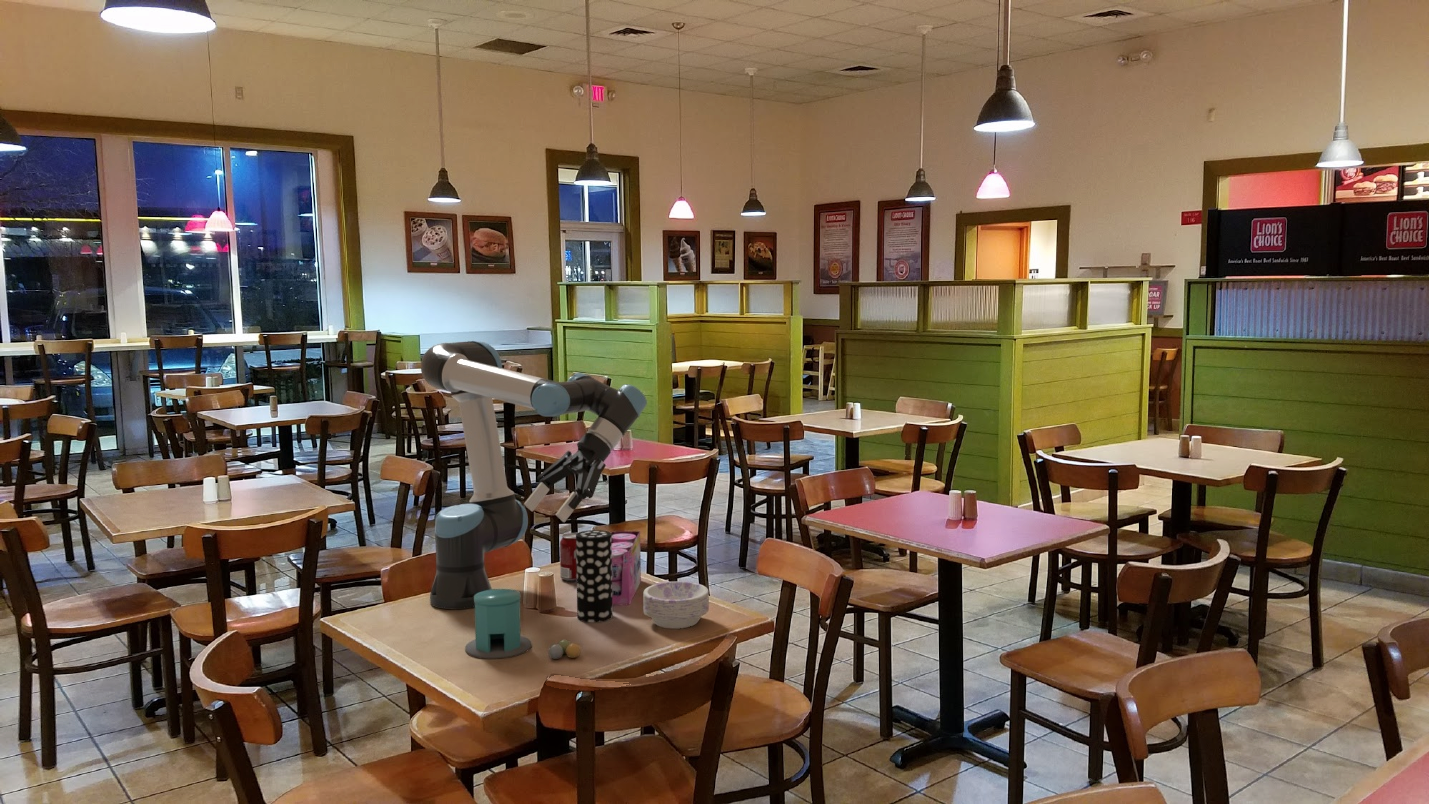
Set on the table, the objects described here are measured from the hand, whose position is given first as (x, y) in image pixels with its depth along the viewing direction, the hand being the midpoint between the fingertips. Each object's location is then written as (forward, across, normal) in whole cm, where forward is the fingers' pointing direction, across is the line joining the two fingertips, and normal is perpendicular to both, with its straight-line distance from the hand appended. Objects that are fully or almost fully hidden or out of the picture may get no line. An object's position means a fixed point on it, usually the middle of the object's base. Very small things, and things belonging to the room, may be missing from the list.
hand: (543, 513), depth 233 cm
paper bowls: (+1, -17, -37) cm, 40 cm away
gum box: (-2, +12, -40) cm, 42 cm away
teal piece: (+29, -5, -8) cm, 30 cm away
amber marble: (+23, -21, -15) cm, 34 cm away
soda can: (0, +30, -39) cm, 50 cm away
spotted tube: (+10, -1, -28) cm, 30 cm away
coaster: (+29, -5, -9) cm, 31 cm away
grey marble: (+25, -19, -13) cm, 34 cm away
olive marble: (+23, -18, -15) cm, 32 cm away
